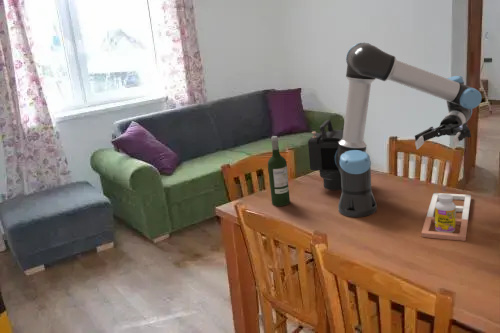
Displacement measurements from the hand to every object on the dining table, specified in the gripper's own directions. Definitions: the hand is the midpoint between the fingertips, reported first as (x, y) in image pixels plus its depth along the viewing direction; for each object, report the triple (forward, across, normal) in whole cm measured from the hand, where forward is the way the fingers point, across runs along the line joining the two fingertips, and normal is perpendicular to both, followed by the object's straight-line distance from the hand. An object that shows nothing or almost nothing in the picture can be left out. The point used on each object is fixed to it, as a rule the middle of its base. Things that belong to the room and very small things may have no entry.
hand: (435, 144), depth 175 cm
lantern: (-13, +55, -21) cm, 61 cm away
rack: (+2, 0, -28) cm, 28 cm away
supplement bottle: (+14, -2, -28) cm, 31 cm away
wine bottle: (+14, +66, -16) cm, 70 cm away
